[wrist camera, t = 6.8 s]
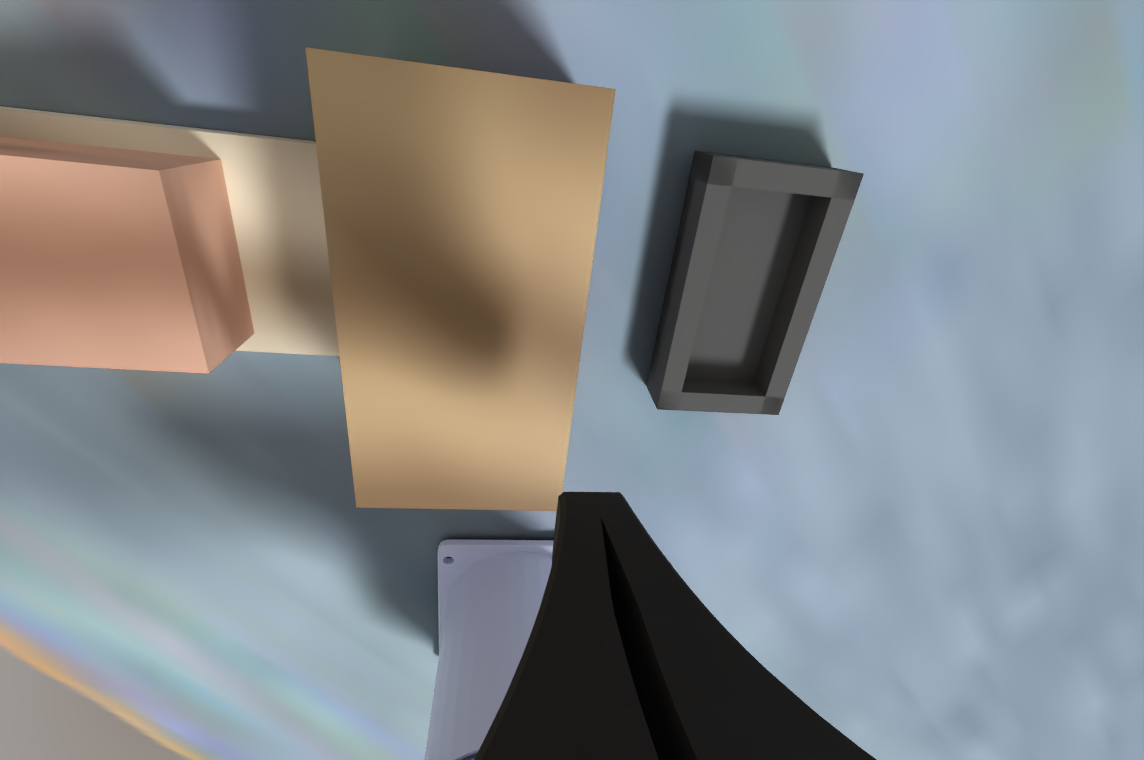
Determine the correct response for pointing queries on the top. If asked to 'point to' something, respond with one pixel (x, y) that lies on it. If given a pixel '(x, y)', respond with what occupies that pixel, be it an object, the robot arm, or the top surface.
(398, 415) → the tunnel
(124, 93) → the top surface
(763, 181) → the tray
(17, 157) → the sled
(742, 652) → the robot arm
